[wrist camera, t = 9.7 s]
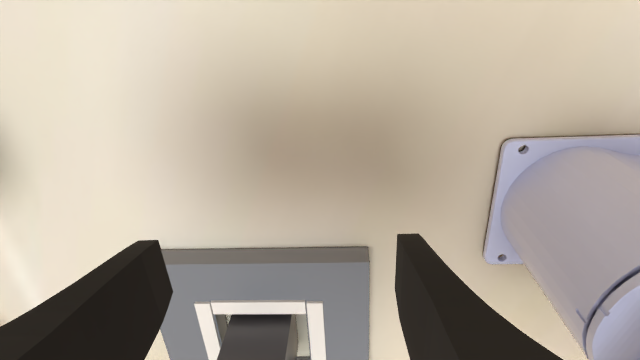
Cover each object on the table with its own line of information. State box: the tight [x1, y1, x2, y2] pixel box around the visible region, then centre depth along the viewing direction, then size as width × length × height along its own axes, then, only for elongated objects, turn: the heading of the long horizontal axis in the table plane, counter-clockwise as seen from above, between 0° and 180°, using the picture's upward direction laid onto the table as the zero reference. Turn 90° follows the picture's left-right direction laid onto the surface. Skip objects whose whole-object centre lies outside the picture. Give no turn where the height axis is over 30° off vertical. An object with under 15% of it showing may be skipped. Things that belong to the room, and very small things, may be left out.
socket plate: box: [160, 247, 369, 360], centre depth 27 cm, size 14×14×2 cm
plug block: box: [217, 314, 298, 360], centre depth 25 cm, size 4×4×6 cm
